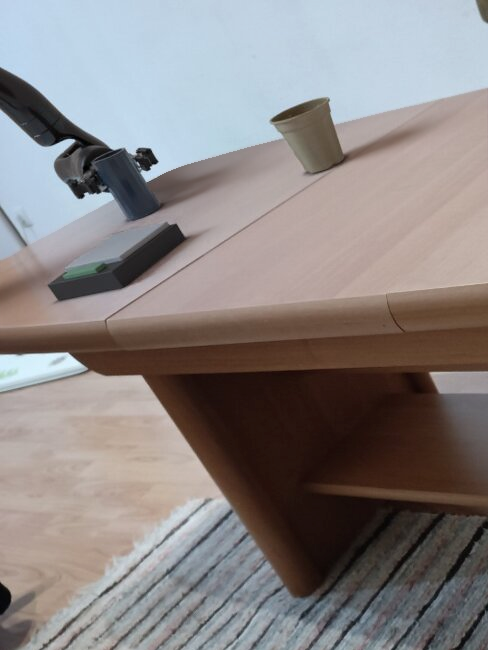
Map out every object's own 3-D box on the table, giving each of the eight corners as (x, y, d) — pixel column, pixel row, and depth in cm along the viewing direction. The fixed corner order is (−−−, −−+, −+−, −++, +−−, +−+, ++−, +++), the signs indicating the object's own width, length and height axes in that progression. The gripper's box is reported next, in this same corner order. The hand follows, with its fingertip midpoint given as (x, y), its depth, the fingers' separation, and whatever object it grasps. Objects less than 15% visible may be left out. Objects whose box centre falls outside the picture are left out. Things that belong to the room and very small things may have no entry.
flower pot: (351, 147, 137) (325, 92, 133) (358, 159, 130) (331, 101, 125) (295, 170, 136) (267, 116, 131) (299, 184, 129) (270, 126, 124)
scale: (58, 300, 117) (43, 280, 115) (124, 252, 127) (111, 233, 126) (123, 287, 113) (108, 266, 111) (186, 238, 123) (173, 218, 121)
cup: (121, 223, 144) (83, 165, 138) (142, 208, 148) (106, 151, 142) (146, 217, 142) (109, 158, 136) (167, 202, 146) (131, 144, 140)
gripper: (48, 165, 148) (64, 172, 136) (127, 130, 153) (148, 134, 142) (76, 206, 152) (93, 217, 140) (151, 171, 158) (174, 178, 146)
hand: (121, 175), depth 141 cm, fingers open, 8 cm apart
